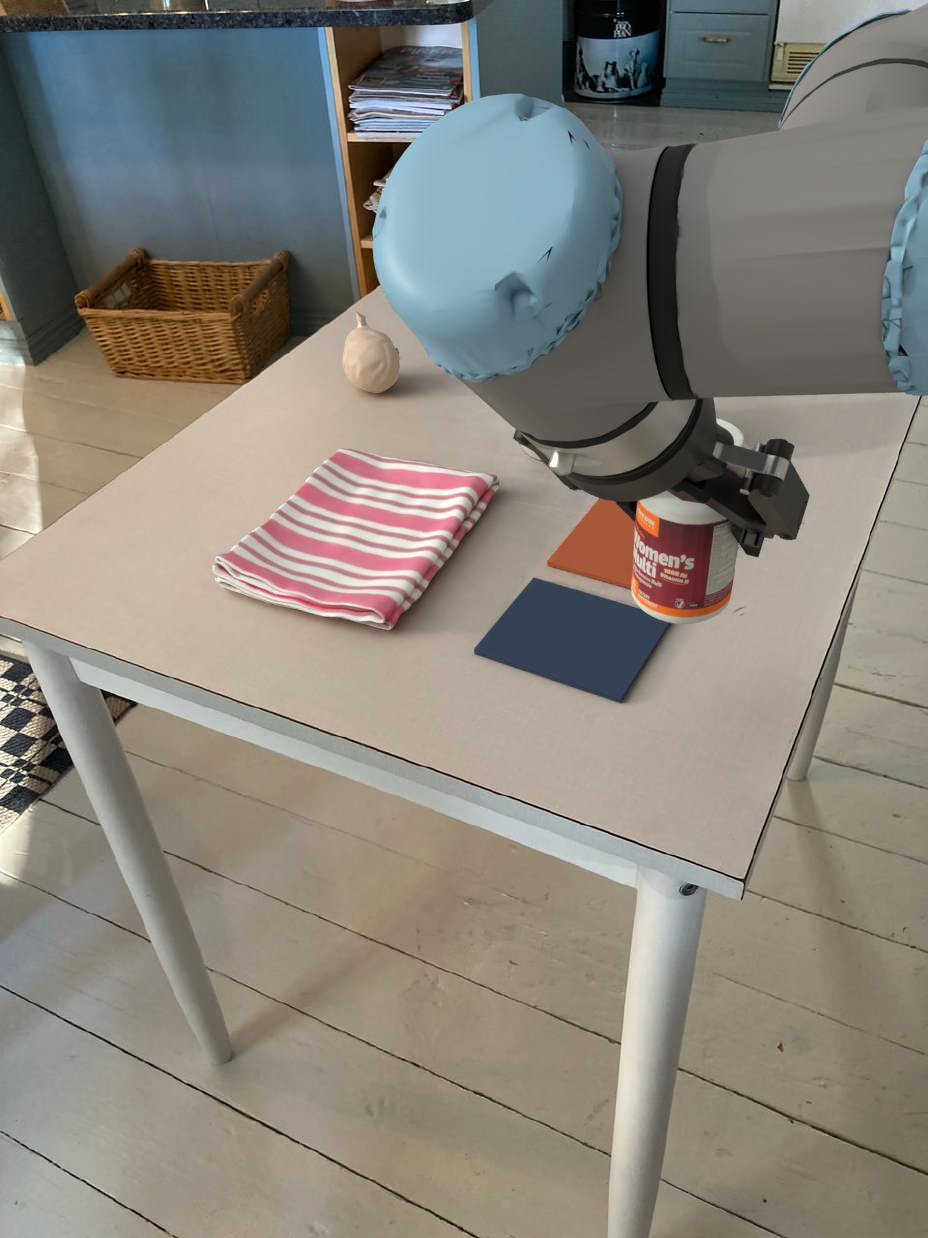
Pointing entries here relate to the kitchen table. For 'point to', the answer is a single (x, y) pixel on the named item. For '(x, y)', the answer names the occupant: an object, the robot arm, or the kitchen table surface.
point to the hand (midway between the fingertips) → (704, 522)
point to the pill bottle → (683, 556)
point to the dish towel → (358, 537)
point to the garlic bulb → (370, 358)
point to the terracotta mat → (599, 546)
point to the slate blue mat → (574, 638)
